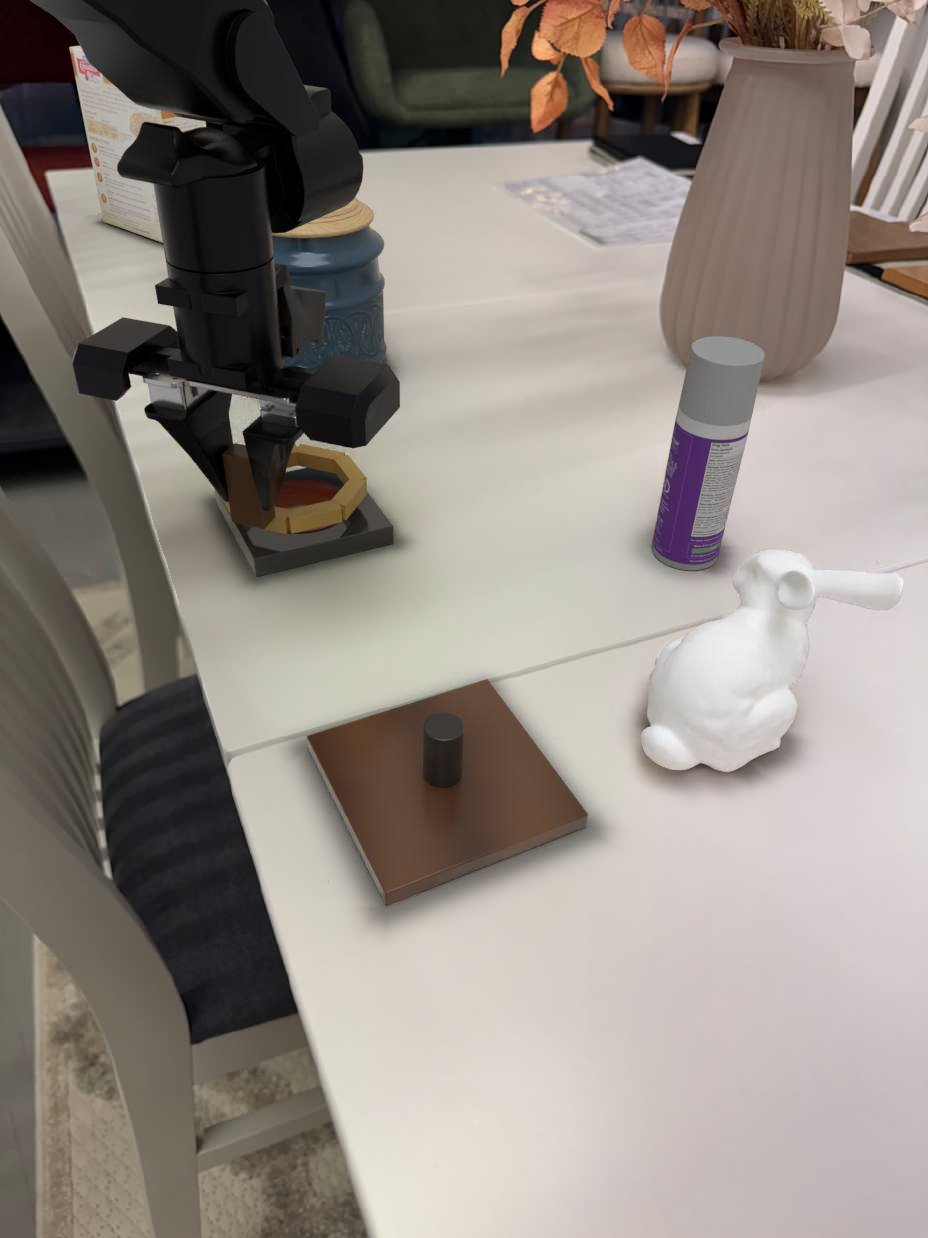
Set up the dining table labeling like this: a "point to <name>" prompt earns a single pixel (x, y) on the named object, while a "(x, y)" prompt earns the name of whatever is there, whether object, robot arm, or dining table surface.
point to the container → (706, 450)
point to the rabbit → (747, 663)
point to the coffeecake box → (119, 147)
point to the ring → (299, 519)
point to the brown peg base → (442, 788)
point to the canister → (339, 283)
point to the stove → (311, 545)
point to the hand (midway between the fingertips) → (251, 503)
